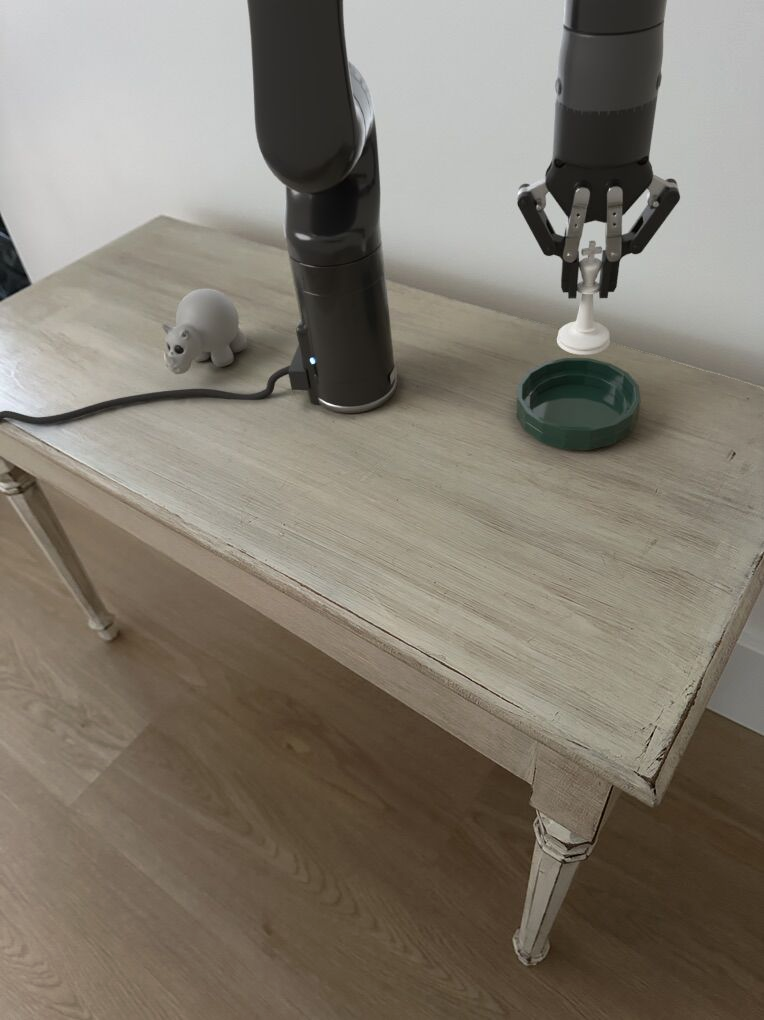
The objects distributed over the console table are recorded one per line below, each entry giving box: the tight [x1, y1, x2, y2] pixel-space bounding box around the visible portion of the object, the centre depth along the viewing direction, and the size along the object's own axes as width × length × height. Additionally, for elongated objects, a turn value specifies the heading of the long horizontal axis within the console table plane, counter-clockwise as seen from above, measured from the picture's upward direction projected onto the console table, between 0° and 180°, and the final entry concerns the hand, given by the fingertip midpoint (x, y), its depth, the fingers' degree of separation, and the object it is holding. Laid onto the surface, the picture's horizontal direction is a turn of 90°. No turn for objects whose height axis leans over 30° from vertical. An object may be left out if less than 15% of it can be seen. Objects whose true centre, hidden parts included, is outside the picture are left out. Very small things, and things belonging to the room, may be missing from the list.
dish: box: [516, 357, 642, 451], centre depth 81 cm, size 12×12×3 cm
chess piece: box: [556, 240, 611, 356], centre depth 72 cm, size 5×5×10 cm
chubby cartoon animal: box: [161, 288, 248, 375], centre depth 92 cm, size 7×12×8 cm, turn 153°
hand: (587, 293), depth 72 cm, fingers closed on chess piece
